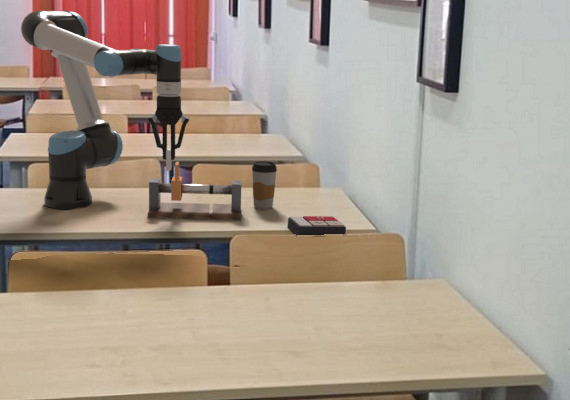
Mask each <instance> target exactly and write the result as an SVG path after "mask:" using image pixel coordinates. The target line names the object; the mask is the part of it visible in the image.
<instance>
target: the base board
mask: <svg viewBox="0 0 570 400" xmlns="http://www.w3.org/2000/svg"><path fill="white" fill-rule="evenodd" d="M241 215H242V211H241V212H231V203H228V204H227V203H225V204H224V203H199V202H198V203H197V202H196V203H192V202H191V203H189V202H160V208H159V210H149V209H148V211H147V218H148V219H179V220H180V219H181V220H182V219H183V220H184V219H187V220H219V221H221V220H222V221H223V220H224V221H225V220H226V221H227V220H229V221H241V220H242V219H241Z"/></svg>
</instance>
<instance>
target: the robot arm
mask: <svg viewBox="0 0 570 400" xmlns="http://www.w3.org/2000/svg"><path fill="white" fill-rule="evenodd" d="M20 31H21V35H22V38H23V40H24V41H25V42H26V43H27V44H29V45H30V46H32V47H34V48H37V49H39V50H42V51H48V50H49V52H50V55H51V56H52V57H53V58H56V59H57V62H58V65H59V69H60V71H61V72H60V73H61V75H62V78H63V82H64V85H65V88H66V91H67V94H68V97H69V98H68V99H69V101H70V105H71V108H72V111H73V114H74V117H75V120H76V121H75V122H76V124H77V127H76V129H75V130H68V131H66V130H64V131H59V132H56V133H53V134H51V136H50V137H49V138H48V147H47V153H48V175H49V178H48V179H49V181H48V185H47V188H46V191H45V195H44V200H43V201H44V206H46V207H47V208H51V209H56V210H57V209H58V210H73V209H74V210H75V209H82V208H86V207H90V206H91V205H92V204H93V196H92V193H91V190H90V187H89V185H88V181H87V170H90V169H94V168H100V167H103V168H104V167H107V166H111V165H113V164H115V163H117V162H118V161H119V160H120V158H121V155H122V153H123V148H124V147H123V145H124V144H123V140H122V136H121V135H120V133H118V132H117V131H116V130H113V129H112V128H111V125H110V122H108V121H107V120H104V118H103V115H102V111H101V108H100V105H99V103H98V99H97V95H96V91H95V88H94V86H93V82H92V78H91V76H90V72H89V70H88V66H89V67H90V68H91V67H92V68H94V69H95V70H96V72H97V73H98V74H99V75H100V76H103V77H110V78H111V77H117V76H118V77H119V76H128V75H129V76H130V75H156V94H157V95H156V110H155V111H154V114H153V115H151V116H149V117H148V119H147V121H148V122H149V123H150V125H151V128H152V133H153V137H154V140H155V144H156V147H157V148H159V149H161V150H162V159H163V160H165V171H167V172H168V171H169V172H170V171H172V168H173V166H172V164H173V163H172V161H174V160H175V158H176V150H177V149H180V148H181V146H182V143H183V138H184V135H185V131H186V127H187V124H188V123H189V121H190V118H189V117H187V116H185V115H184V114H183V110H182V96H181V95H182V60H183V58H182V49H181V47H180V45H178V44H167V43H166V44H165V43H163V44H161V43H160V44H157V45H156V47H155V48H156V49H155V50H154V49H146V48H145V49H144V48H131V49H120V50H119V49H115V48H113V47H109V46H107V45H105V44H102V43H100V42H97V41H94V40H92V39H89V38H88V36H87V35H88V34H89V32H88V31H89V30H88V26H87V23H86V21H85V20H84V18H83V17H82V15H80V14H79V13H77V12H75V11H68V10H36V11H31V12H30V13H28V14H27V15H26V16H25V17H24V19H22V22H21V27H20ZM157 119H158V121H159V122H160V124H161V127H162V129H161V130H162V133H161V136H162V143H161V137H160V133H159V130H158V126H157ZM180 120H181V121H180ZM179 121H180V122H181V123H182V124H181V125H180V126H181V127H180V131H179V135H178V139H177V143H176V125H177V123H178V122H179ZM168 126H170V148H168Z"/></svg>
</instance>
